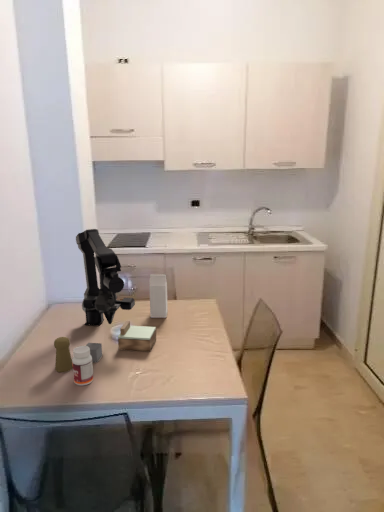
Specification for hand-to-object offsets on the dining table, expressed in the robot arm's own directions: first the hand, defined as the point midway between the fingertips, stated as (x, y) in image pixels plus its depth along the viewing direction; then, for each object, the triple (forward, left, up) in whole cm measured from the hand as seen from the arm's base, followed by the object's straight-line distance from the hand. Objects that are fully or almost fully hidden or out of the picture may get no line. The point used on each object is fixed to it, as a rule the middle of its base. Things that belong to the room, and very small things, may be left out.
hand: (110, 323), depth 157 cm
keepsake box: (+11, 0, -8) cm, 13 cm away
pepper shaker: (-10, -20, -8) cm, 24 cm away
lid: (+11, 0, -3) cm, 11 cm away
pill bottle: (0, -27, -8) cm, 28 cm away
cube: (-2, -13, -8) cm, 15 cm away
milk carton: (+12, +30, -8) cm, 33 cm away
